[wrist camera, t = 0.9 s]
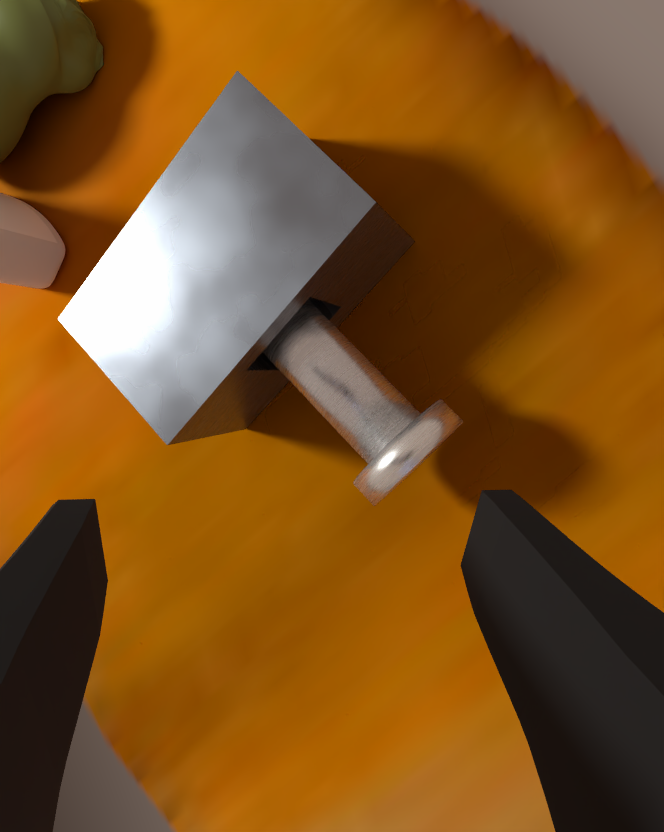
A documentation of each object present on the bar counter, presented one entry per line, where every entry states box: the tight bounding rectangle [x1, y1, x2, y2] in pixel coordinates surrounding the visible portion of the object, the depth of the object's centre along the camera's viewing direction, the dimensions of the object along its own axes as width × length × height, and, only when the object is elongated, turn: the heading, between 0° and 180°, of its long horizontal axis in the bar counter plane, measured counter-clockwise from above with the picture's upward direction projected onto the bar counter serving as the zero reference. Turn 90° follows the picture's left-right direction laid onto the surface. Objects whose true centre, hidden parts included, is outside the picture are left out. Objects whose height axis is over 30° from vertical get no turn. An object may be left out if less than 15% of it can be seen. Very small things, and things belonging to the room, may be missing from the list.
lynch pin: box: [263, 299, 463, 506], centre depth 21 cm, size 10×4×4 cm, turn 45°
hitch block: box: [58, 71, 415, 445], centre depth 22 cm, size 6×10×6 cm, turn 135°
